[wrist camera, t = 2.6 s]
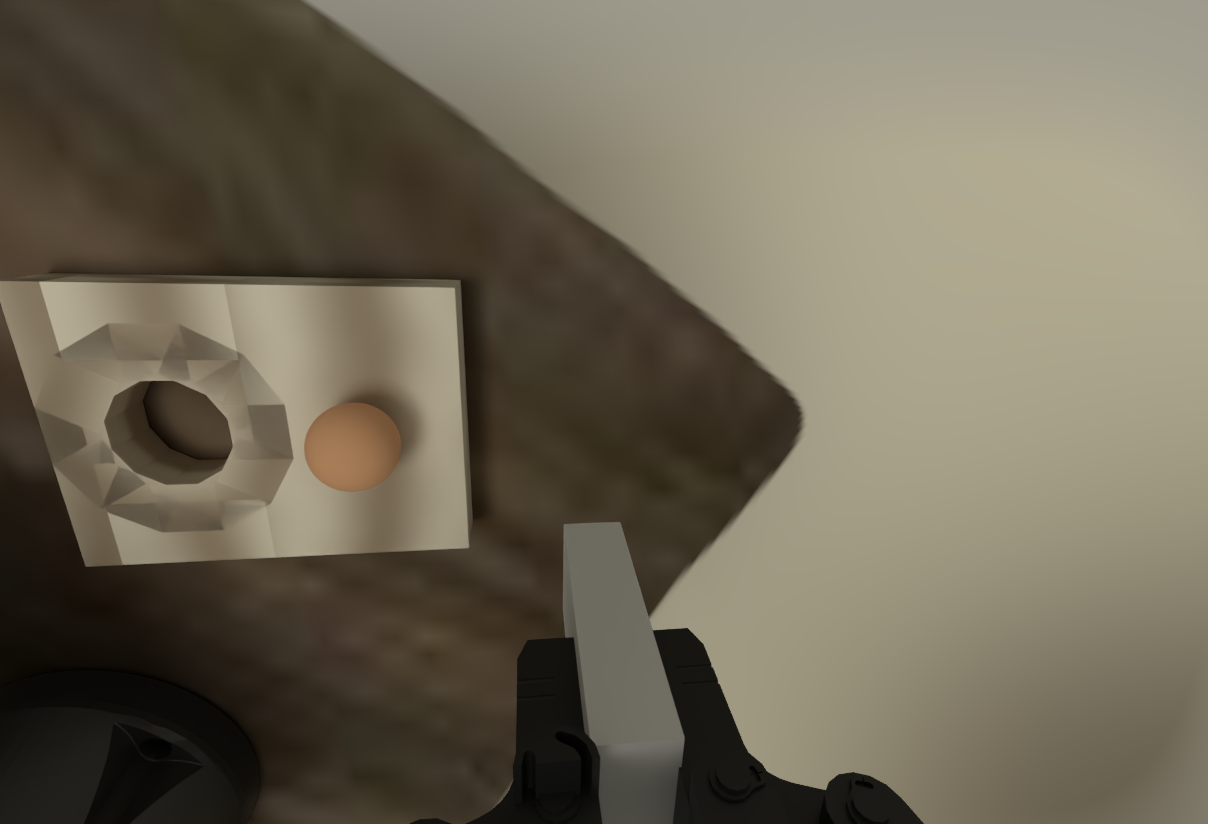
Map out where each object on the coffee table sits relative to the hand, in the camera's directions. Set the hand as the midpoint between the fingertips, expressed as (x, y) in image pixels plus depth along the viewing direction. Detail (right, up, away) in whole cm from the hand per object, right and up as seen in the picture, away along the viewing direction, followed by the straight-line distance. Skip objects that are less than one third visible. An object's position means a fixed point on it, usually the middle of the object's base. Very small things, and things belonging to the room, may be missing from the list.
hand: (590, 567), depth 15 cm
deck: (-14, +4, +10) cm, 18 cm away
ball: (-9, +3, +7) cm, 12 cm away
